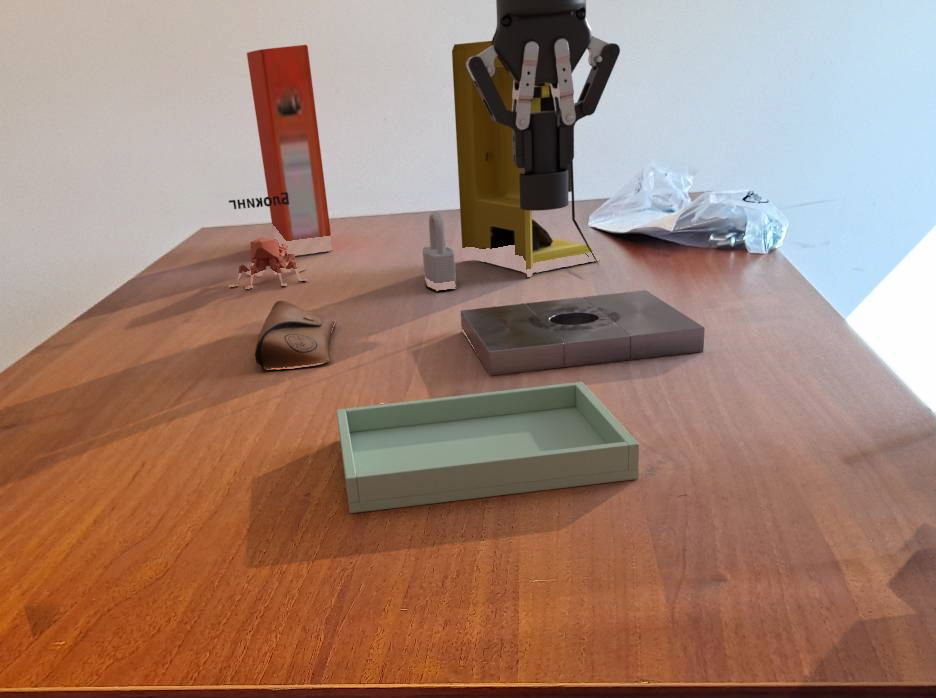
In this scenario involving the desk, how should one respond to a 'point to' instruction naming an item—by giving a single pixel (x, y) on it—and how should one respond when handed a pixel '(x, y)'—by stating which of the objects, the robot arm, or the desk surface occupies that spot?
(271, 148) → the file binder
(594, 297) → the plate
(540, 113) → the plug
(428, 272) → the padlock
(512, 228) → the vintage telephone
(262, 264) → the beetle
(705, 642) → the desk surface
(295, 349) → the sunglasses case
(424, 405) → the tray
